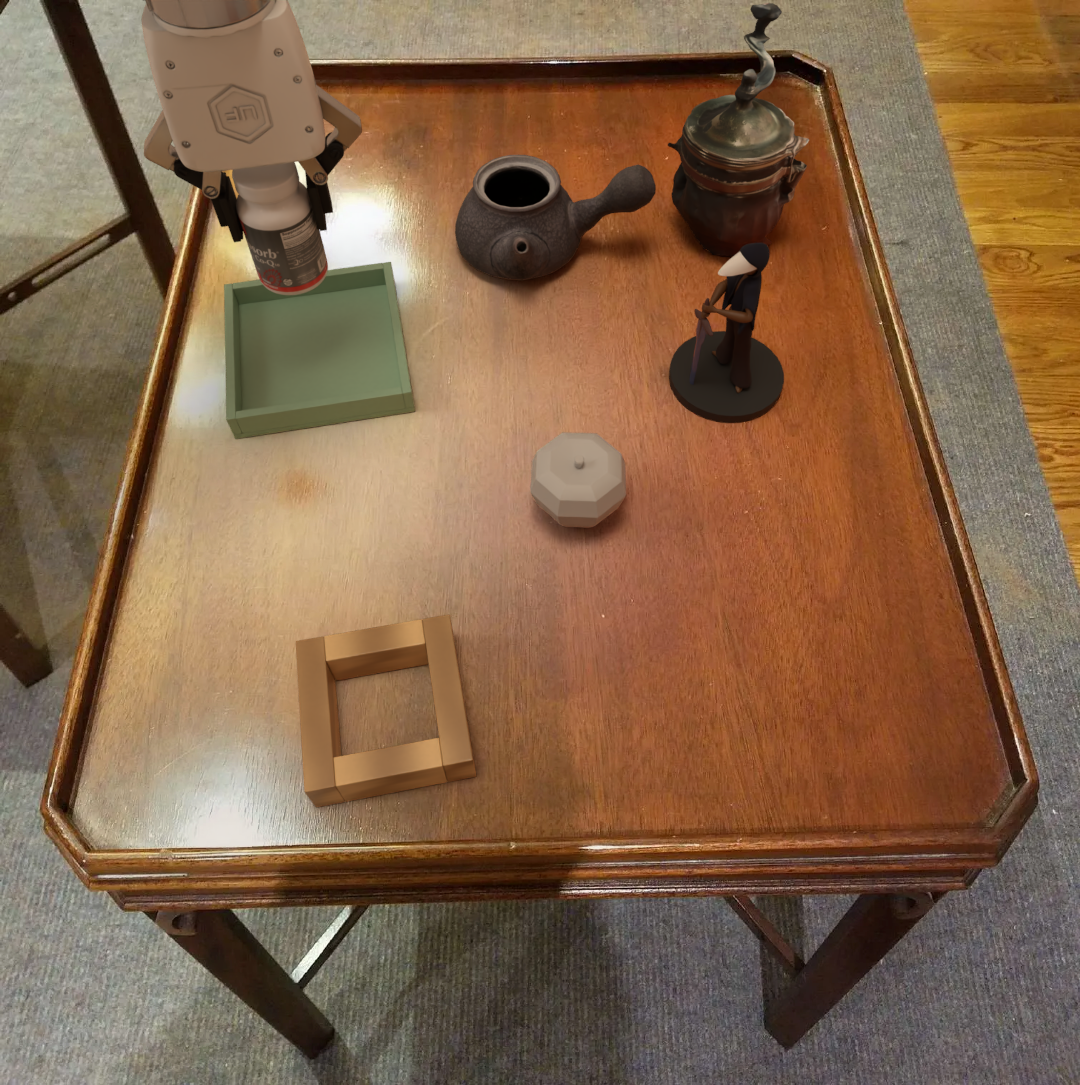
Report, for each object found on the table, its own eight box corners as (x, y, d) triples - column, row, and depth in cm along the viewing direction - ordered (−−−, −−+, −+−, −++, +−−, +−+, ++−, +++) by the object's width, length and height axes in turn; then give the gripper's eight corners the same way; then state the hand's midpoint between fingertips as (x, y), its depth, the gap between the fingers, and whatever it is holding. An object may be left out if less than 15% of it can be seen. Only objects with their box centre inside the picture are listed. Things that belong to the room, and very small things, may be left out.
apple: (640, 488, 76) (647, 438, 70) (603, 562, 72) (608, 516, 66) (552, 456, 77) (552, 405, 72) (511, 527, 74) (508, 479, 68)
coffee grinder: (779, 176, 97) (822, 1, 82) (787, 272, 89) (836, 98, 74) (659, 170, 98) (680, -5, 82) (656, 265, 90) (679, 91, 75)
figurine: (650, 354, 83) (669, 218, 71) (750, 326, 85) (785, 189, 73) (698, 435, 78) (727, 304, 66) (802, 404, 80) (850, 271, 68)
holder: (315, 807, 62) (304, 792, 59) (306, 661, 67) (295, 640, 64) (476, 776, 63) (473, 760, 60) (453, 635, 68) (449, 613, 66)
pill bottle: (245, 275, 75) (207, 169, 67) (299, 241, 78) (269, 134, 69) (289, 309, 73) (256, 204, 65) (343, 272, 75) (318, 167, 67)
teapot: (456, 314, 86) (446, 227, 78) (456, 207, 95) (448, 118, 86) (655, 307, 87) (667, 220, 78) (638, 202, 95) (648, 112, 86)
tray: (235, 439, 79) (226, 419, 76) (231, 305, 87) (223, 284, 85) (415, 411, 80) (411, 391, 78) (394, 282, 89) (390, 261, 87)
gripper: (57, 29, 53) (166, 272, 68) (353, -3, 55) (395, 241, 70) (67, -36, 57) (168, 208, 72) (343, -63, 59) (385, 180, 74)
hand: (279, 222), depth 71 cm, fingers closed on pill bottle, 5 cm apart
